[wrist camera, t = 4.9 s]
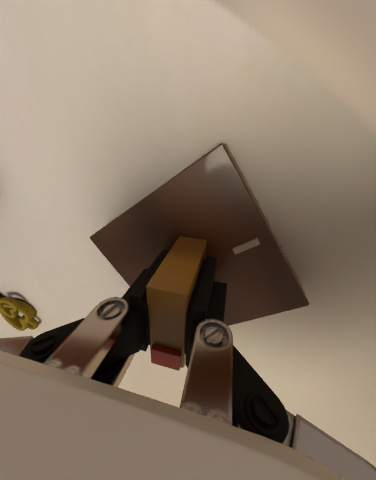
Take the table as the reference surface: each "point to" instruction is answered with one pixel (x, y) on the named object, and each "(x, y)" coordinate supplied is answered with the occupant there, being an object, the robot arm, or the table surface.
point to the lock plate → (209, 237)
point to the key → (10, 312)
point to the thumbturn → (173, 301)
